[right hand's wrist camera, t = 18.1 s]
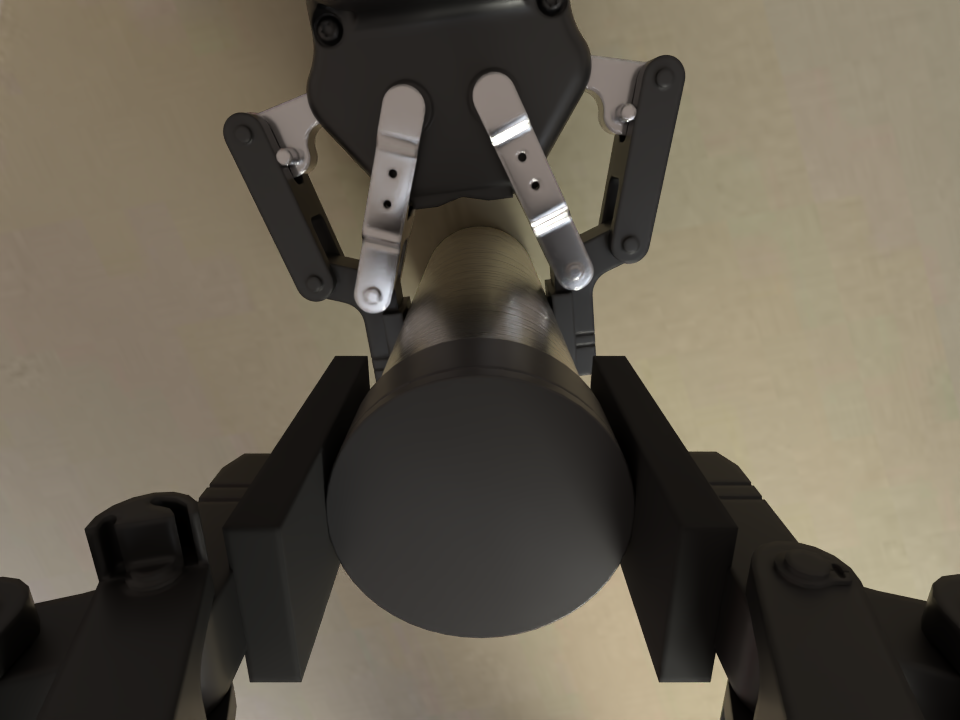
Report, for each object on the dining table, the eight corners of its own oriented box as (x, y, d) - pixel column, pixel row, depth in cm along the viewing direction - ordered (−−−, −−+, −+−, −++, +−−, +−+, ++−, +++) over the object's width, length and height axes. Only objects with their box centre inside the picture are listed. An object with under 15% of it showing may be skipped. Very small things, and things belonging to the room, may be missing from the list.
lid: (354, 320, 11) (330, 357, 9) (637, 353, 11) (668, 396, 9) (342, 554, 13) (319, 624, 11) (585, 579, 13) (602, 651, 11)
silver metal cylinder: (526, 216, 26) (602, 347, 10) (541, 323, 28) (628, 586, 11) (415, 236, 26) (310, 396, 10) (437, 341, 28) (379, 620, 12)
